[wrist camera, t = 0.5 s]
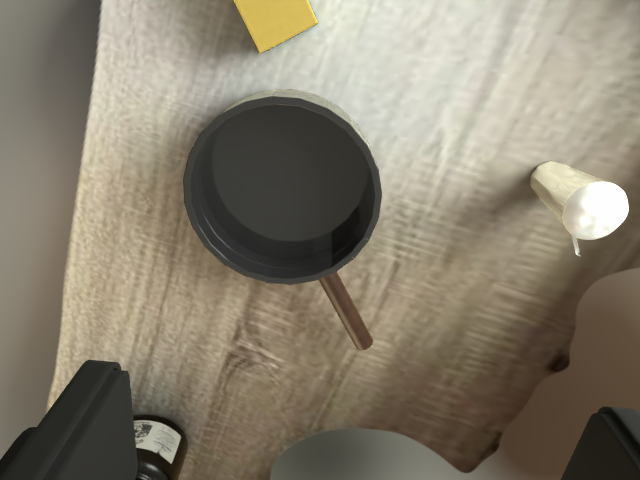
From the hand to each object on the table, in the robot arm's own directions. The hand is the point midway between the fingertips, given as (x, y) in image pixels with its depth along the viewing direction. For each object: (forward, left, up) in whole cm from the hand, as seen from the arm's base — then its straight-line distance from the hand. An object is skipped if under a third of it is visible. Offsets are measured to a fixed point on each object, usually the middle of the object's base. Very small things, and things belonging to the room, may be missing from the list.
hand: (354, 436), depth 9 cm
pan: (+3, -6, -33) cm, 34 cm away
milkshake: (+13, +15, -33) cm, 39 cm away
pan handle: (+16, -6, -31) cm, 35 cm away
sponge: (-11, 0, -33) cm, 35 cm away
